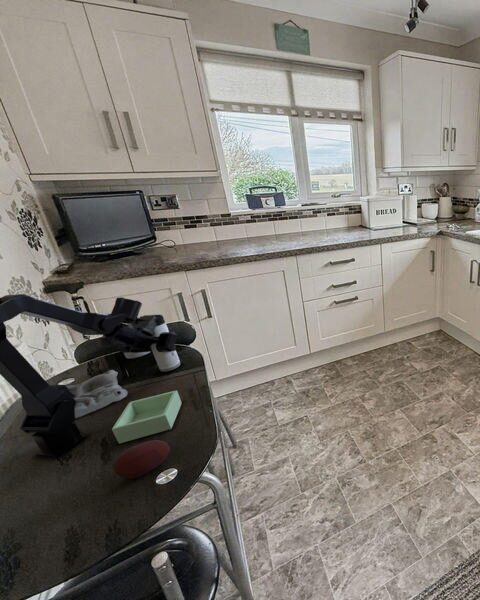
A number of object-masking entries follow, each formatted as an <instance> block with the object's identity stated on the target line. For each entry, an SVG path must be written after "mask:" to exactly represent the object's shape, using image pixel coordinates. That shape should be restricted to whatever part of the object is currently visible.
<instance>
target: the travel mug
mask: <svg viewBox="0 0 480 600" xmlns="http://www.w3.org/2000/svg"><path fill="white" fill-rule="evenodd" d="M153 315H154V316H155V317H156V319H154V320H155V323H156V324H157V325H156V328H155V329H154V330H153V331H154V332H155V334H154V336H152V337H159V335H160V334H161V333H163V332H170V331H169V328H168V325H167V323H166V321H165V318H164V316H163V314H153ZM139 318H140V317H139ZM140 320H141V318H140V319H139V321H140ZM141 321H148V320H141ZM151 349H152V354H153V357H154V359H155V361H156V364H157V366H158V369H159V371H160V372H162V373H166V372H167V373H168V372H170V371H173V370H175V369H178V368H179V367H180V366H181V363H182V362H181V360H180V357H179V356H178V352H177V349H176V350H175V351H171V352H158V351H157V350H156V344H152V347H151Z"/></svg>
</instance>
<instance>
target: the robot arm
mask: <svg viewBox="0 0 480 600" xmlns="http://www.w3.org/2000/svg"><path fill="white" fill-rule="evenodd" d="M142 306H143V303H142V302H141V301H139V300H134V299H130V298H126V297H116V299H115V302H114V305H113V307H112V310H111V312H110V313H98V312H87V311H80V310H76V309H73V308H70V307H66V306H63V305H59V304H56V303H53V302H49V301H46V300H42V299H40V298H39V299H38V298H35V297H33V296H31V295H28V294H26V293H17V294H15V293H14V294H6V295H3V296H1V297H0V376H1V377H2V378H4V380H5V381H6V382H7V383H8V384H9V385H10V386H11V387H12V388H13V389H14V390H15V391H16V392H17V393H18V394H19V395H20V396H21V406H22V408H23V409H24V411H25V413H26V414H25V417H24V419H23V421H22V423H21V425H20V427H19V430H20V431H22V432H23V433H24V434H31V437H32V439H33V441H34V442H35V443H36V445H37V447H38V448H39V450H40V451H39V452H38V453H37V455H38V456H43V457H46V456H47V457H53V458H54V457H55V458H58V457H60V456H62V455H63V454H65V453H66V452H67V451H69V450H70V449H72V448H73V447H74V446H76V445H77V444H78V443H80V442H81V441H83V440H84V439H85V438H86V436H85V435H81V431H80V429H79V427H78V425H77V424H76V422H75V421H76V418H75V405H76V401H75V399H74V398H73V397H75V396H76V395H74V394H72V393H71V392H70V391H69V389H68V387H67V386H68V385H66V384H50V383H48V382H47V380H46V379H45V378H44V377H43V376H42V375H41V374H40V373H39V372H38V371H37V370H36V368H34V367H33V365H32V364H31V363H30V361H28V360H27V359H26V358H25V356H23V354H22V353H21V352H20V351H19V350H18V349H17V348H16V347H15V346H14V345H13V344H12V343H11V342H10V340H9V338H8V337H7V326H6V324H5V322H8V321H10V320H12V319H15V318H16V317H17V316H19V315H24V316H28V317H32V318H35V319H40V320H44V321H48V322H52V323H55V324H60V325H64V326H67V327H68V328H69V329H71V330H73V331H74V332H77V333H79V334H82V335H84V336H101V337H99V344H100V346H101V347H102V346H104V347H105V346H114V343H117V346H116V349H117V351H118V352H120V353H123V354H124V353H130V352H131V353H140V352H150V353H151V352H152V349H151V347H152V344H156V350H157V351H158V352H171V351H175V350H176V351H177V347H176V346H175V343H176V340H177V337H178V334H177V333H175V332H173V331H169V332H163V333H161V334H160V335H159V337H152V336H154V334H155V332H154V331H153V330H154V329H155V328H156V325H157V324H156V323H155V320H154V319H156V317H155V316H154V315H155V314H146V315H142V316H141V315H140V316H139V314H140V311H141V309H142ZM140 318H141V320H148V321H141V320H140V321H139V319H140ZM124 323H127V324H129V323H131V325H132V326H133V327H131V326H129V325H126V324H124ZM152 353H153V352H152Z"/></svg>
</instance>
